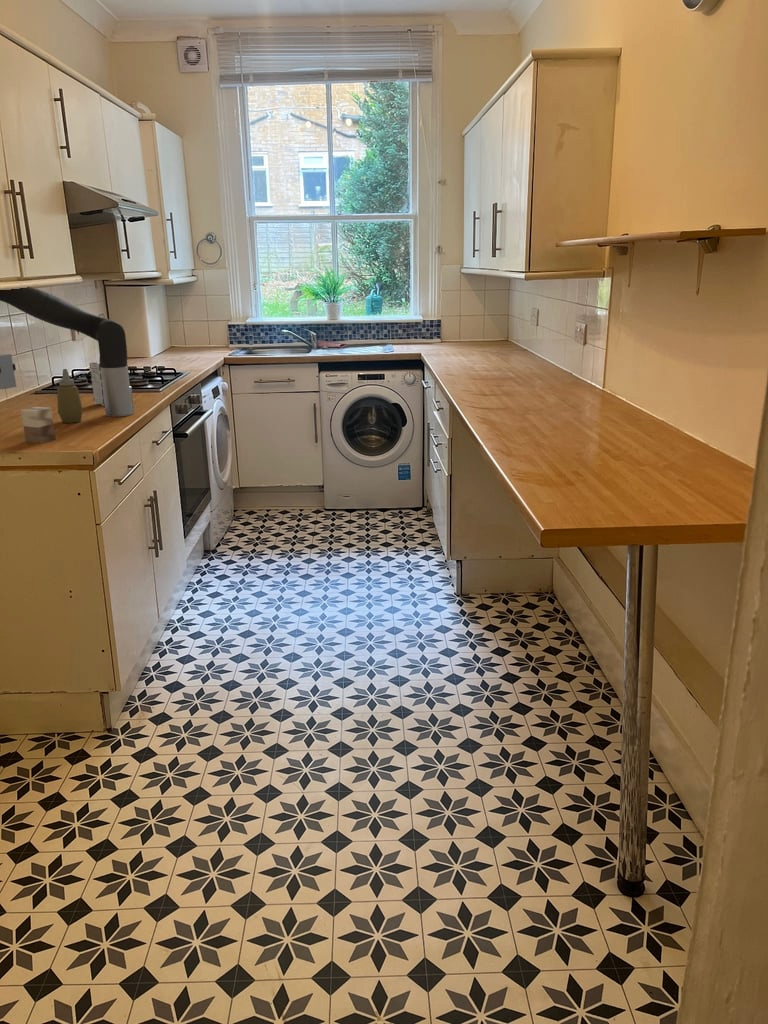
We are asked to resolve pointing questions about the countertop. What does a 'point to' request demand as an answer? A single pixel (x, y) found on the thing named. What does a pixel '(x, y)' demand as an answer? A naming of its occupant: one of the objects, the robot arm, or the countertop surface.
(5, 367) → the pillar
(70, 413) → the squeeze bottle
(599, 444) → the countertop surface
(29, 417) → the tower top
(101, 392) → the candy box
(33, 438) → the tower base
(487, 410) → the countertop surface
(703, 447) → the countertop surface
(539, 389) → the countertop surface
